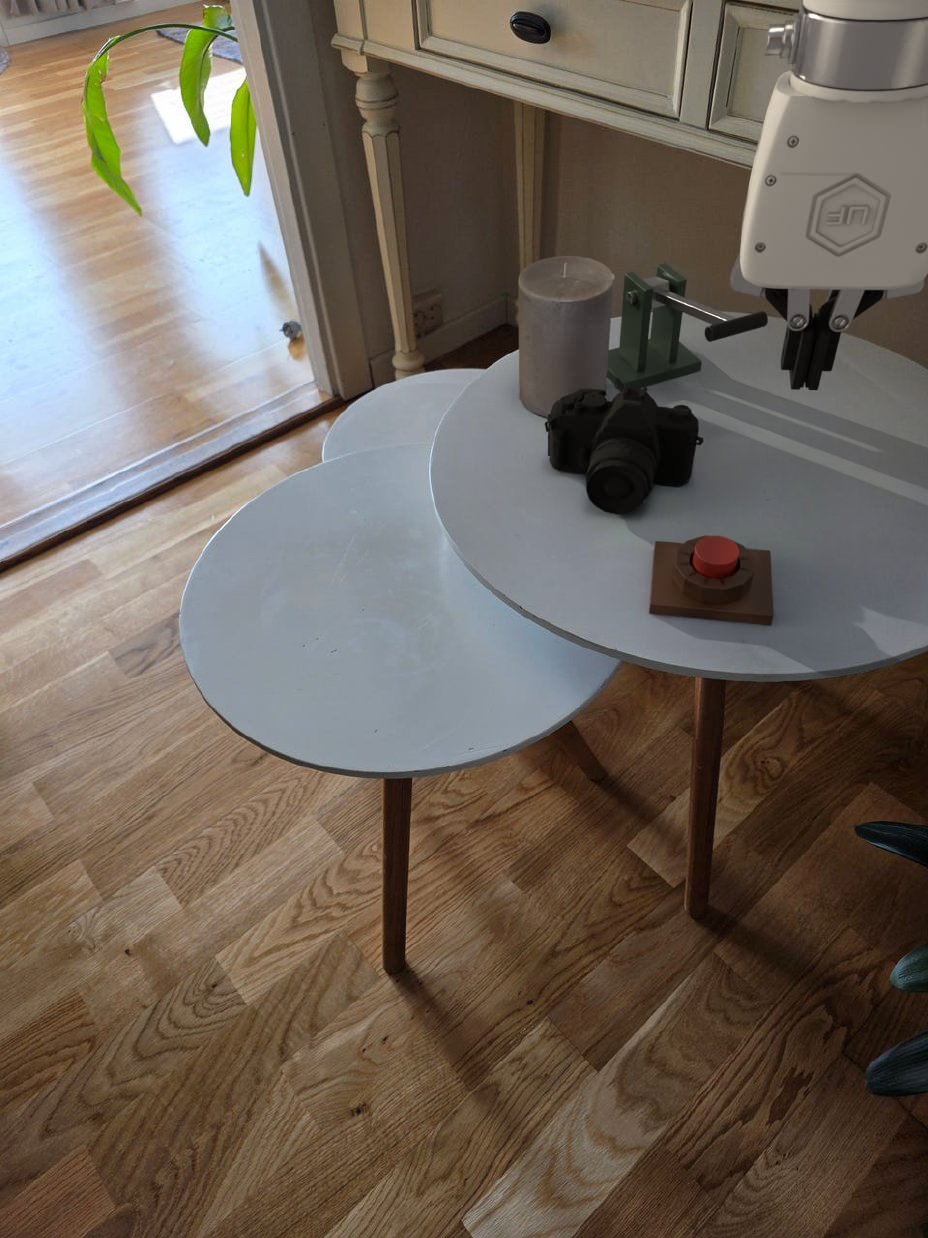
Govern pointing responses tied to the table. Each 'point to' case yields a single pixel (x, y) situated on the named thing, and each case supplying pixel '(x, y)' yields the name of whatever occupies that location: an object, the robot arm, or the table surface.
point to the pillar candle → (563, 329)
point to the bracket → (663, 351)
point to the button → (715, 557)
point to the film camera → (621, 445)
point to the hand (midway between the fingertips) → (802, 378)
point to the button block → (711, 586)
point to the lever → (705, 312)
